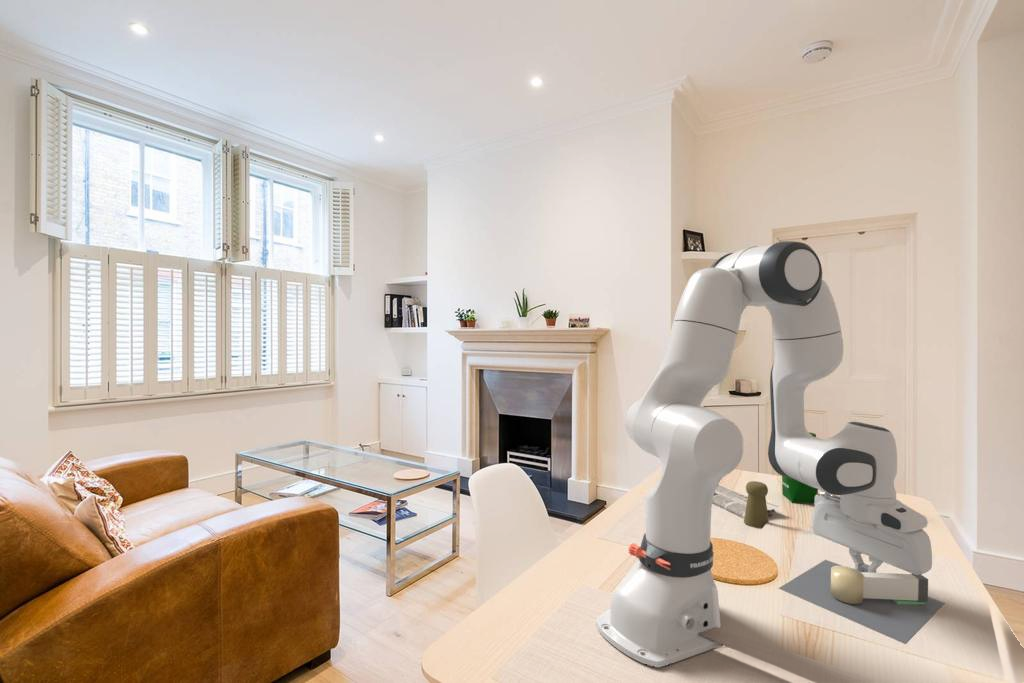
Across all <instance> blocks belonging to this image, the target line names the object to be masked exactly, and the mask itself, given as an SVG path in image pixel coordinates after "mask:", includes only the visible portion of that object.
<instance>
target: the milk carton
mask: <svg viewBox="0 0 1024 683" xmlns="http://www.w3.org/2000/svg"><path fill="white" fill-rule="evenodd" d="M808 432H809V433H810V434H811V435H812V436H814V437H817V434H816V433H814V432H810V431H808ZM781 489H782V490H781V492H782V496H783V497H785V498H786V499H787V500H788V501H790V503H792V504H812V505H813V504H814V503H815V496H816V495H817V494H818V493H819V489H816V488H813V487H811V486H808V485H806V484H804V483H802V482H800V481H797V480H794V479H790V478H787V477H784V476H782V475H781ZM814 505H815V504H814Z"/></svg>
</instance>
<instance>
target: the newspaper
mask: <svg viewBox="0 0 1024 683" xmlns="http://www.w3.org/2000/svg"><path fill="white" fill-rule="evenodd" d="M747 498H748V494H746V493H743V492H740V491H736V490H734V489H732V488H729V487H728V486H725V485H723V484H721V483H719V484H718V486H717V488H716V490H715V493H714V497H713V501H712V505H714V506H716V507H718V508H720V509H722V510H725V511H727V512H728V513H731V514H733V515H735V516H738V517H739V518H741V519H743V520H744V517H745V511H746V505H747ZM766 505H767V512H768V516H769V515H770V516H773V514H774V513H775V509H778V508H779V507H781V505H780V504H778V503H774V502H771V501H768V500H766Z"/></svg>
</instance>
